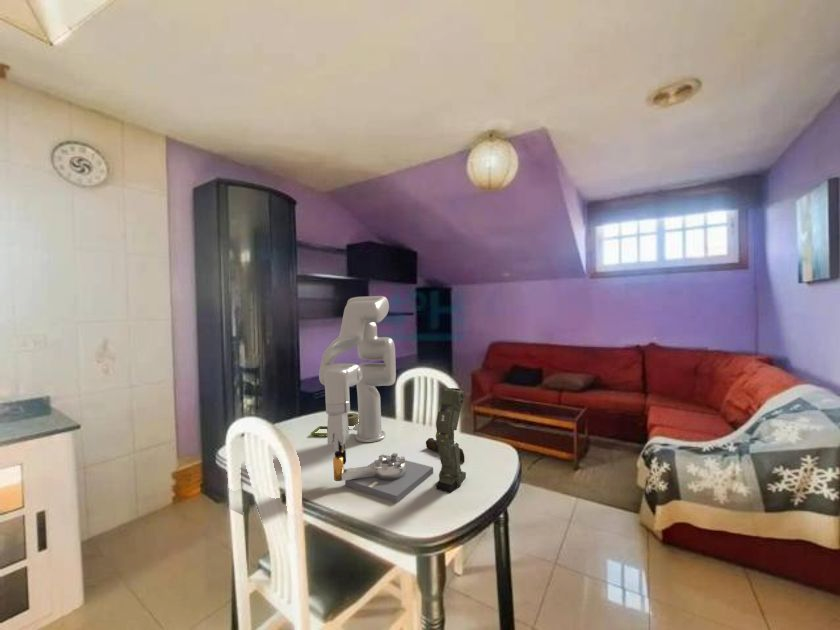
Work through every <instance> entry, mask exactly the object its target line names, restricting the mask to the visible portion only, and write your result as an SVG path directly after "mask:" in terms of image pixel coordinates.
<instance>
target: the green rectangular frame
mask: <svg viewBox="0 0 840 630" xmlns="http://www.w3.org/2000/svg"><path fill="white" fill-rule="evenodd" d="M327 428H328V425H326V426H325V425H323V426H322V425H321V426H317V427H316V428H315V429H313V430H312V431H310V434H311V435H312V436H313V435H327V433H315V432H317V431H318V430H319V429H327Z"/></svg>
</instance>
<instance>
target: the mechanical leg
mask: <svg viewBox="0 0 840 630" xmlns="http://www.w3.org/2000/svg"><path fill="white" fill-rule="evenodd" d="M442 395H443V396H442V399H441V406H440V411H437V414H436V415H437V416H436V421H435V424H436V426H435V427H436V428H435V429H436V433H435V440H436V441H437V445H438V450H439V452H438V454H439V460H440V464H441V467H440V468H441V469H440V471H439V474H438V479H439V480H438V482H436V486H435V490H438V491H441V492H444V493H449V494H452V492H453V491H455V490H456V489H457V488H458V487H461V485H462V483H463V481H464V480H465V479H466V478H467V477H466V475H467V472H465V471H462V468H461V465H460V463H461V462H460V448H461V447H459V446H460V445H459V444H460V443H457V442H455V431H457V430H458V425H459V421H460V415H461V412H462V407H463V404H464V401H465V396H464V395H465V391H463V390H461V388H456V387H445V388H444V391H443V394H442Z"/></svg>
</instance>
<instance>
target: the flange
mask: <svg viewBox="0 0 840 630" xmlns="http://www.w3.org/2000/svg"><path fill="white" fill-rule="evenodd" d="M358 419H359V418H358V413H357V412H356V413H355V412H348V426H354V425H356V424H358V423H359V422H358Z"/></svg>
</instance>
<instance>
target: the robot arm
mask: <svg viewBox="0 0 840 630" xmlns="http://www.w3.org/2000/svg"><path fill="white" fill-rule="evenodd" d="M389 303H390V302H389V299H388V298H387V297H386V296H383V295H373V296H372V295H369V296H355V297H351V298H349V299H348V300H347V302H346V305H345V307H344V310H343V316H342V320H341V327H340V330H339V336H338V337H337V338H335V339H334V340H333V341H332V342H331V343H330V344H329V345H328V346H327V347H326V349H324V351H323V354H322V357H321V360H320V365H319V369H318V370H319V371H318V379H319V382H320V384H321V385H323V386H324V393H325V394H324V395H325V413H326V415H328V416H327V426H328V428H327V436H326V437H327V447H331V446H332V445H333V452H334V457H336V456H342V457H343V465H345V464H346V463H347V453H346V441H347V438H348V437H349V431H350V430H349V427H348V413H350V411H351V401H350V387H354V386H356V392H357V393H356V394H357V409H358V411H357V414H358V419H359V424H356V425H355V427H354V428H353V430H352V431H356V432H357V433H356V434H355V440H356V441H358V442H360V443H374V442H378V441H379V442H380V441H381V440H384V439H385V437H386V432H385V431H384V430H382V411H381V410H382V407H381V395H380V392H379V391H378V389H377V387H381V386H383V387H385V386H387V387H388V386H392V385H394V384H395V383H396V378H397V370H396V369H397V367H396V364H397V362H396V346H395V342H394V340H393V338H391V337H389V336H388V337H387V336H382V337H379V336H378V325H377V323H381V322H382V321H383V320H384V318H386V317H387V315H388V312H389V310H390V304H389ZM355 347H357V348H356V349H357V355H358V358H359V359H361V360H363V361H383V362H364V363H360V364H357V363H334V361H335V360H336V358H337V357H338V356H339V355H341V354H343V353H344V352H346V351H349V350H351V349H353V348H355Z"/></svg>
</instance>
